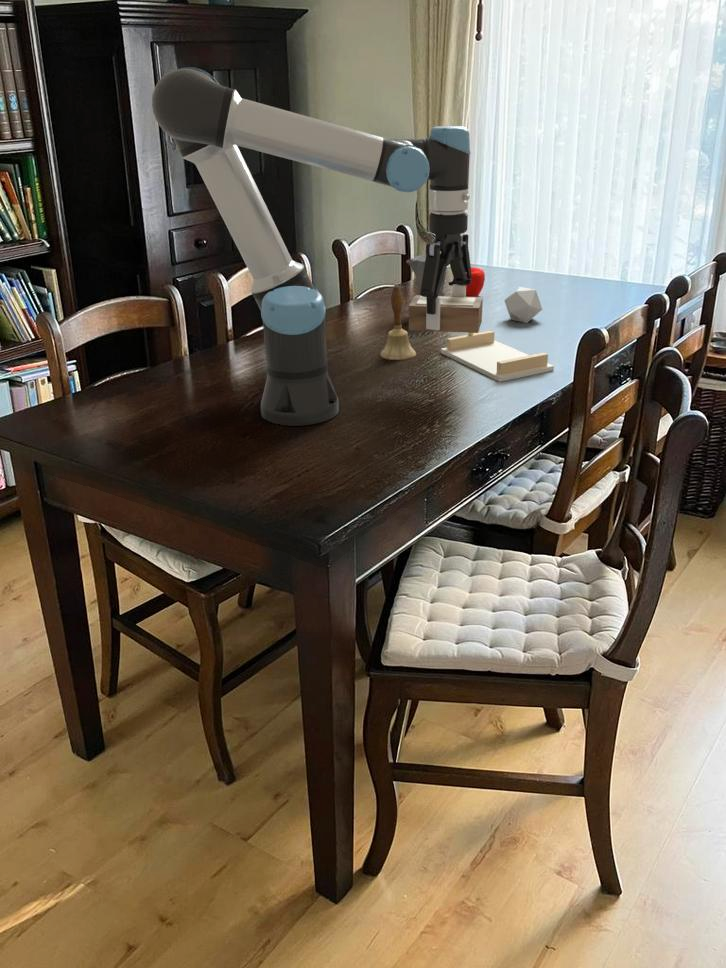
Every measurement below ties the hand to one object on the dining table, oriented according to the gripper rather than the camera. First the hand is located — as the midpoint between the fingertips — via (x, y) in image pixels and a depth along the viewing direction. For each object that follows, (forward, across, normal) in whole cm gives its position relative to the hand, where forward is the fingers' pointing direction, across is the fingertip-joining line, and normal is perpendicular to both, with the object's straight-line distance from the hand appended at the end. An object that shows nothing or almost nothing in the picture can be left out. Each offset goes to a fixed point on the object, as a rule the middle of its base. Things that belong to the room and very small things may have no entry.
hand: (446, 322), depth 184 cm
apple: (+13, +69, +28) cm, 75 cm away
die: (+12, +52, +4) cm, 53 cm away
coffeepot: (+13, +47, +27) cm, 56 cm away
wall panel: (+12, +17, -4) cm, 21 cm away
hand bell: (+13, +12, +18) cm, 25 cm away
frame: (+1, 0, 0) cm, 1 cm away
